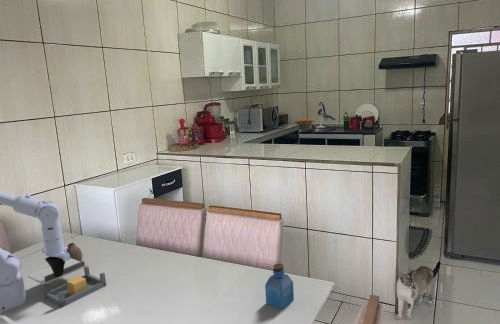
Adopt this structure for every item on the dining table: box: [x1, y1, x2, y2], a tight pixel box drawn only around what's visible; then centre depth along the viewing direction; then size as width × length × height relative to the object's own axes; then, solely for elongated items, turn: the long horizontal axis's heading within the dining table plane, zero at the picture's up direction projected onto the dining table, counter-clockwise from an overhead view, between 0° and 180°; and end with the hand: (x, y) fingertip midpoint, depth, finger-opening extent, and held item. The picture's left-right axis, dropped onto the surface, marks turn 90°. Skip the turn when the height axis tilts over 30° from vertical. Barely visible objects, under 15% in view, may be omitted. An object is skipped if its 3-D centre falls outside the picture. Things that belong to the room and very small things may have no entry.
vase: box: [66, 242, 83, 262], centre depth 157 cm, size 7×7×9 cm
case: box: [42, 266, 107, 308], centre depth 133 cm, size 16×11×6 cm
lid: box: [27, 258, 89, 286], centre depth 138 cm, size 16×11×2 cm
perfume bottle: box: [264, 263, 295, 310], centre depth 120 cm, size 6×6×12 cm
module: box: [66, 275, 87, 295], centre depth 132 cm, size 4×4×5 cm
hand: (59, 275), depth 132 cm, fingers closed
